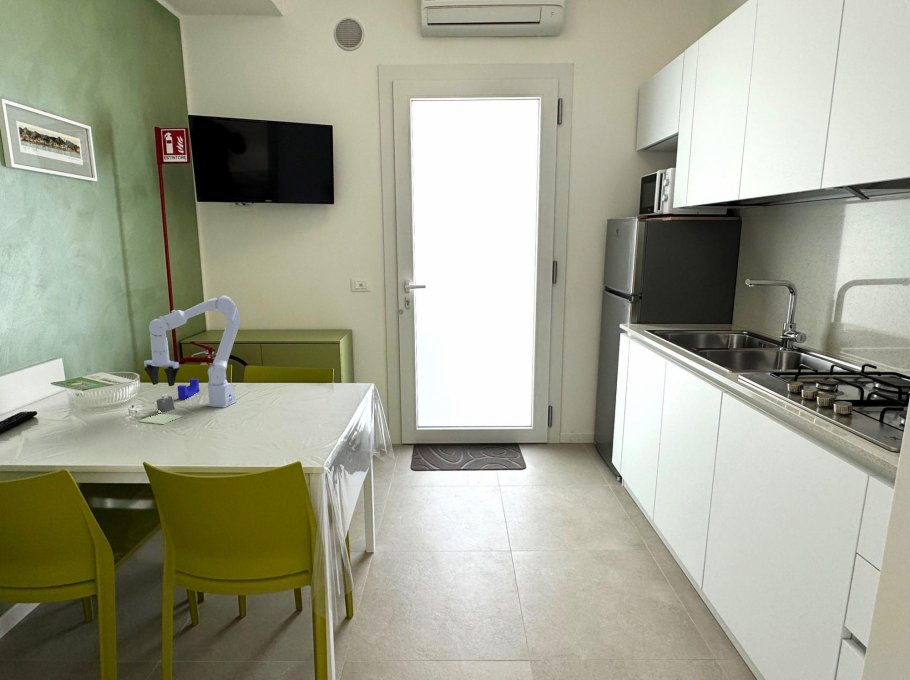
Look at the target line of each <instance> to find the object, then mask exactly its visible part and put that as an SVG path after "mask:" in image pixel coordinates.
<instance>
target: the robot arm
mask: <svg viewBox="0 0 910 680" xmlns="http://www.w3.org/2000/svg"><path fill="white" fill-rule="evenodd" d="M217 310H218V311H219V313H220V314H223V316H224V317H225V319H226V324H225V328H224V331H223V333H222V337H221V340H220V343H219V345H218V349H217V352H216V355H215V358H214V359H213V363H212V365H210V366H209V368H208V370H207V375H208V379H209V380H208V381H207V390H208V401H209V402H208V403H204V406H205V407H206V406H207V407H214V408H215V407H217V408H226V407H229V406H231V405H233V404H236V403H237V400H236V392H235V387H234V385H233V384H231V383H229V382H228V380H227V373H226V371H227V368H228V361H229V358H230V355H231V352H232V349H233V345H234V342H235V340H236V337H237V334H238V331H239V328H240V324H241V321H242V319H241V316H240V314H239V310H238V306H237V304H236V303H235V302H234V301H233V299H231V297H229V296H228V295H224V294H223V295H219V296H217V297H212V298H210V299H206V300H205V301H202V302H201V303H198V304H197V305H194V306H192V307H190V308H188V309H186V310H180V309H177V310H176V309H173V310H171V312H170V313H168V314H166V315H163V316H162V315H160V316H158V318H155V319H153V320H151V321H150V322H149V325H148V332H149V337H150V340H149V341H150V350H151V359H147V360H144V361H143V366H144V368H143V370H144V371H145V372H146V373H147V375H148V377H149V379H150V381H151V383H152V385H153V386H155V385H158V384H159V381H160V380H159V370H160V368H164V369H163V371H164V372H165V373H164V374H165V376H166V380H167V384H168V387H172V386H175V383H176V378H177V375H178V374H179V373H178V372H179V370H180V363H179V362H177V361H173V360H170V352H169V343H168V337H167V331H171V330H174V329H175V328H178V327H181V326H182V325H185V324H187V321H188V319H190V318H193V317H196V316H198V315H200V314H203V313H206V312H217Z"/></svg>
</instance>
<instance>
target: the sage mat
mask: <svg viewBox="0 0 910 680" xmlns="http://www.w3.org/2000/svg"><path fill="white" fill-rule="evenodd" d="M157 414H158V413H157ZM150 416H151V417H150ZM150 416H147V417H145V418H143V419H139V420H138V422H139V423H144V424H152V423H154V424H153V425H161V424H164V425H166V424H169V423H171V422H172V420H173V421H175V419H176V420H178V419H181V418H183V416H182V415H177V414H167V413H161V414H158V415H156V416H152V415H150ZM170 421H171V422H170Z"/></svg>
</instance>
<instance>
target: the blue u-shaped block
mask: <svg viewBox="0 0 910 680" xmlns="http://www.w3.org/2000/svg"><path fill="white" fill-rule="evenodd" d="M199 381H200V380H199V378H191V379H189V385H186V384H185V385H184V384H183V385H181V384H180V385H177V395H178V400H179V399H181V401H185V400H184V399H186V400H187V398H188V399H190V398H191V397H193V396H195V395H196V393H197V394H199V393H200V392H199V391H200V382H199ZM194 394H195V395H194ZM189 397H190V398H189Z"/></svg>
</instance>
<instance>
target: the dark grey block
mask: <svg viewBox="0 0 910 680" xmlns="http://www.w3.org/2000/svg"><path fill="white" fill-rule="evenodd" d="M160 397H161V398H158V399H156V408H157V409H158V410H160V411H161V412H166V413H168V412H170V410H171V411H172V409H173V410H175V400H174V399H175V398H174V396H173V395H169V394H166V393H164V394H162V395H160ZM157 409H156V410H157ZM158 410H157V411H158ZM167 411H168V412H167Z"/></svg>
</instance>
